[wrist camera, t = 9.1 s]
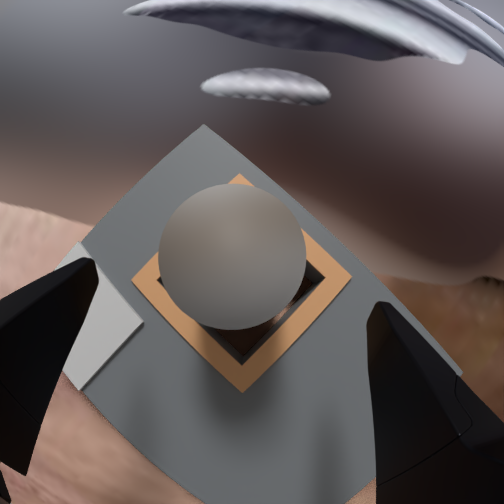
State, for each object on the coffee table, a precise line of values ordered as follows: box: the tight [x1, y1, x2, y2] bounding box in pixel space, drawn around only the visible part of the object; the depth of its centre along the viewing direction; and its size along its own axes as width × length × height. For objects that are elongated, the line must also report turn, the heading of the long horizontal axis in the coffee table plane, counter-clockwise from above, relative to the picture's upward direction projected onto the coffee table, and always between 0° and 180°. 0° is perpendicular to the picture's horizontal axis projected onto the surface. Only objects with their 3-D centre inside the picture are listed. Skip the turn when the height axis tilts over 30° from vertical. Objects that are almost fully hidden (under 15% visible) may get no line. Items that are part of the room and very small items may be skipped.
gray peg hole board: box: [54, 124, 463, 504], centre depth 15 cm, size 22×16×3 cm
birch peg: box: [158, 184, 306, 330], centre depth 13 cm, size 4×4×10 cm
